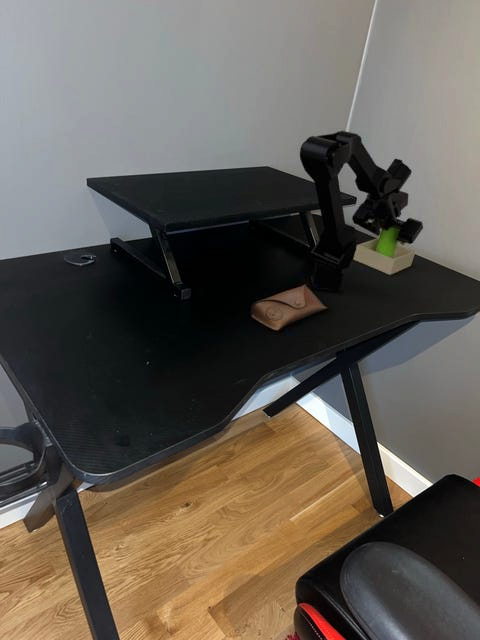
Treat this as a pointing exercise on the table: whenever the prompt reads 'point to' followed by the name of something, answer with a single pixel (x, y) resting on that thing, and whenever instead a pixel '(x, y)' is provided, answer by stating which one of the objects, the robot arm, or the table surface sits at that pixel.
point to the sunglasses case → (286, 307)
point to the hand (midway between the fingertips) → (391, 239)
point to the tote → (383, 257)
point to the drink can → (387, 242)
